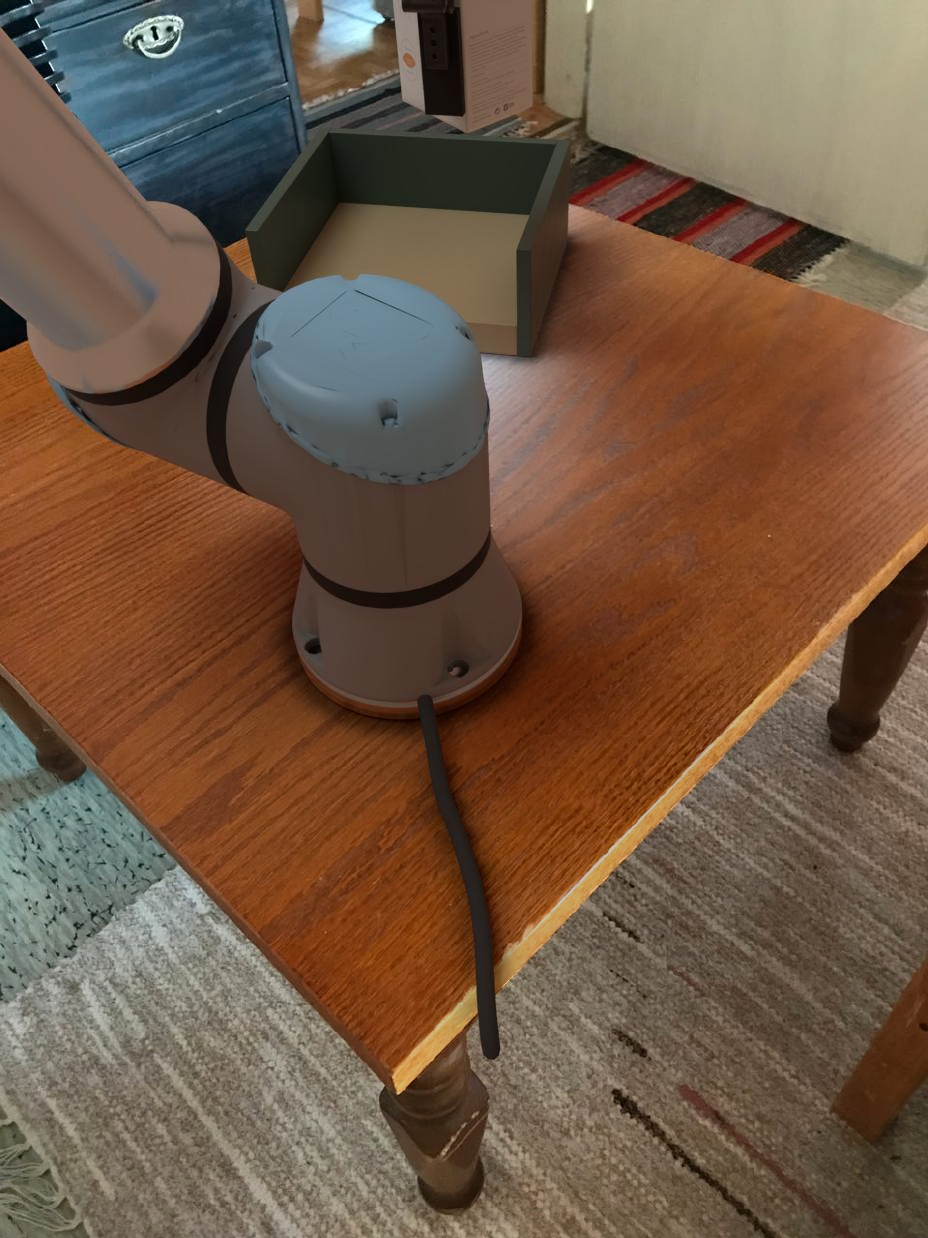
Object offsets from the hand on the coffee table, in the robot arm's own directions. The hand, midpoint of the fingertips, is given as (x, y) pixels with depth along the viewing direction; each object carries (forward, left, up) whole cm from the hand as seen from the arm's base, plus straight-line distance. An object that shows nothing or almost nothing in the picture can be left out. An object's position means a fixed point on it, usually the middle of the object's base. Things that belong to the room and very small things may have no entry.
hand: (464, 82), depth 71 cm
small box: (0, 0, -2) cm, 2 cm away
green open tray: (+9, +7, -22) cm, 25 cm away
